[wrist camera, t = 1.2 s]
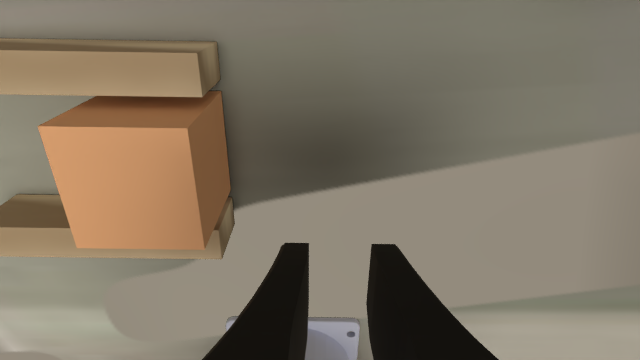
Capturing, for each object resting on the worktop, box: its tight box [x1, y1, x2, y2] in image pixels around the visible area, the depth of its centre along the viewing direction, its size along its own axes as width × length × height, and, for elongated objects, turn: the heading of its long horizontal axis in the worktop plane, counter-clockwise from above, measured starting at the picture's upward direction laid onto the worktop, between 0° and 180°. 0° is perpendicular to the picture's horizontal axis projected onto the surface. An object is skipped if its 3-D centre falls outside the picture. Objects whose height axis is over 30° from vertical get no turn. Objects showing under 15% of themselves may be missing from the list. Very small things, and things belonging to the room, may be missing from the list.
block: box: [38, 91, 231, 250], centre depth 17 cm, size 5×5×5 cm
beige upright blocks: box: [0, 38, 235, 259], centre depth 18 cm, size 9×11×3 cm
